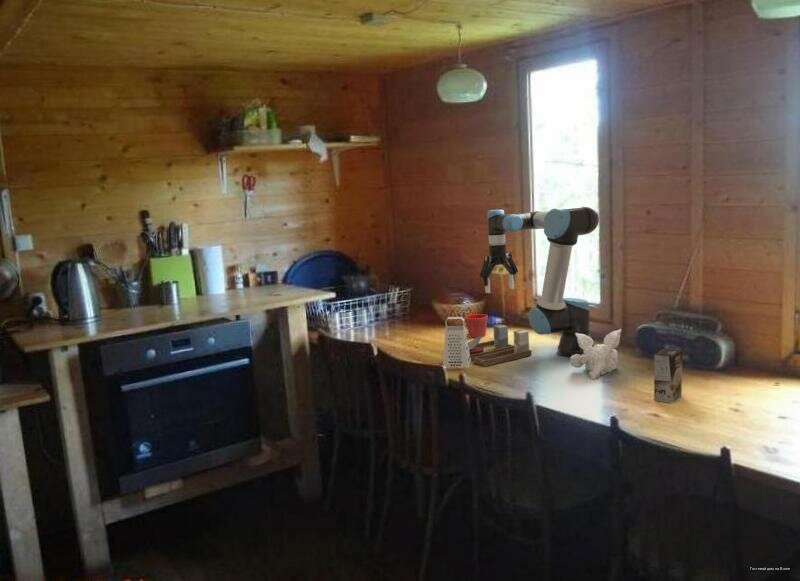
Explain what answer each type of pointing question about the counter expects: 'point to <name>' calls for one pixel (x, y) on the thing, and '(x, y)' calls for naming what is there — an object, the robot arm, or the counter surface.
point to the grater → (456, 345)
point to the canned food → (473, 348)
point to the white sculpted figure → (597, 354)
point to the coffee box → (667, 375)
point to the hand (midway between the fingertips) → (499, 290)
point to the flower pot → (476, 325)
